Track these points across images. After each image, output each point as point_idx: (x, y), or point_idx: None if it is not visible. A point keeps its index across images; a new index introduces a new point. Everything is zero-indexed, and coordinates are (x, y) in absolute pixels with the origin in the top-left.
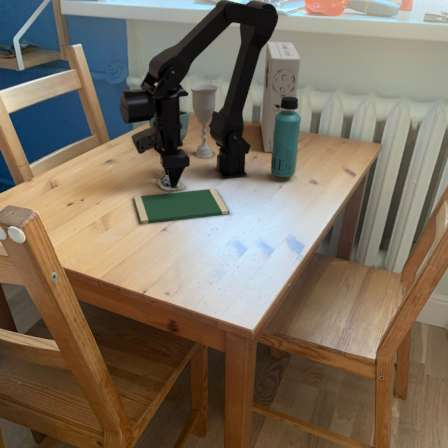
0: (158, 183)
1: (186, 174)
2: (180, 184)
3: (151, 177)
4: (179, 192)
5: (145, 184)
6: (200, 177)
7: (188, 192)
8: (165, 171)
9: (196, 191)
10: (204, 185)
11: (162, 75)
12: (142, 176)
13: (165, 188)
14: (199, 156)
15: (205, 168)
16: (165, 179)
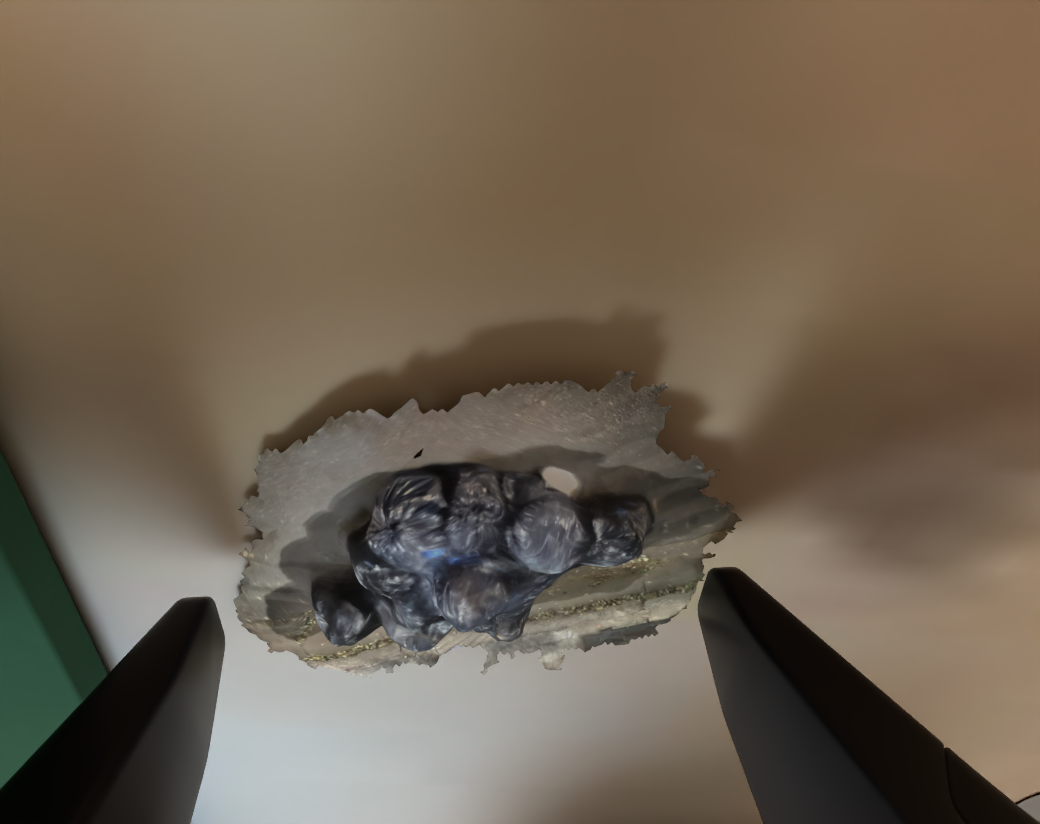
0: (480, 415)
1: None
2: (435, 651)
3: (887, 320)
4: (40, 656)
5: (642, 152)
6: (587, 790)
7: None
8: (741, 620)
9: None
10: (374, 809)
11: None
12: (1036, 160)
13: (298, 483)
14: (1037, 803)
15: None
16: (517, 558)
